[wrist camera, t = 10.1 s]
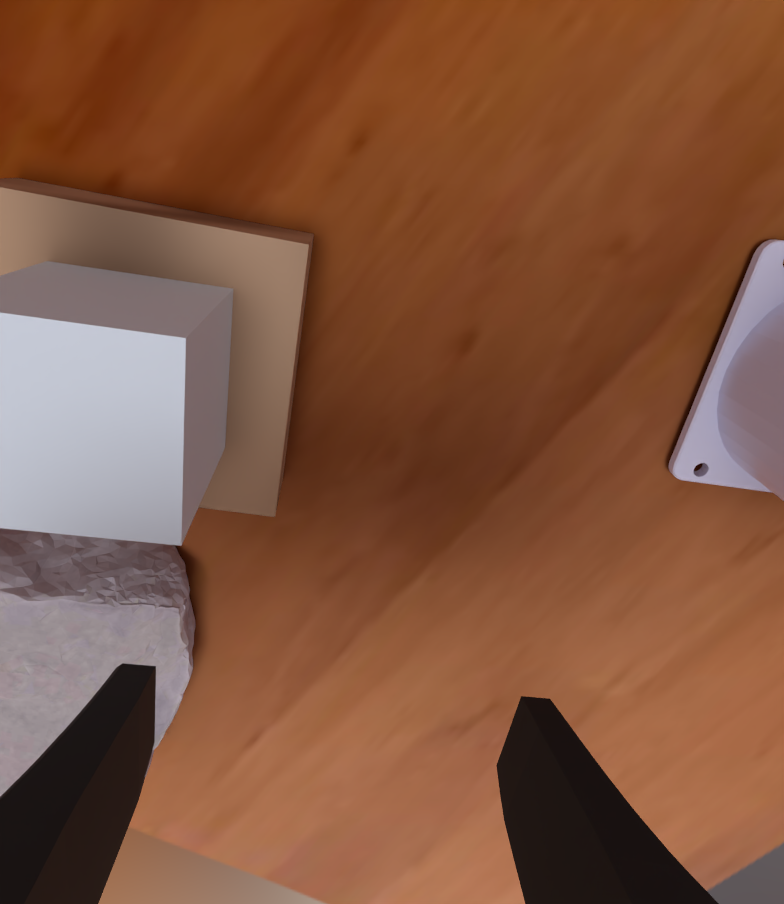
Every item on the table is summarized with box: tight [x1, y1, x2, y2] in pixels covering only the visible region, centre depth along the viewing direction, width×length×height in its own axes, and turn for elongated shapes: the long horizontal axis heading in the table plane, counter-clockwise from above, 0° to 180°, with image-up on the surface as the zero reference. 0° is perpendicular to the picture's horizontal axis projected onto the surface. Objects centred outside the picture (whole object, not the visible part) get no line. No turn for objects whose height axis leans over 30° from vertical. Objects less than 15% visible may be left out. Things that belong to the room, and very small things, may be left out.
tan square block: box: [0, 178, 314, 517], centre depth 18 cm, size 8×8×3 cm
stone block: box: [0, 528, 196, 796], centre depth 22 cm, size 12×5×10 cm
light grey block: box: [0, 261, 233, 546], centre depth 14 cm, size 4×4×5 cm
